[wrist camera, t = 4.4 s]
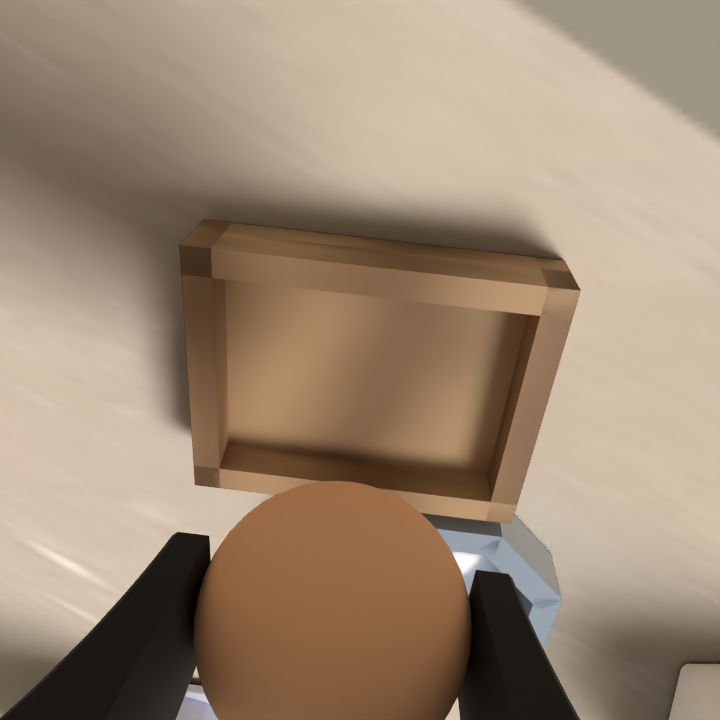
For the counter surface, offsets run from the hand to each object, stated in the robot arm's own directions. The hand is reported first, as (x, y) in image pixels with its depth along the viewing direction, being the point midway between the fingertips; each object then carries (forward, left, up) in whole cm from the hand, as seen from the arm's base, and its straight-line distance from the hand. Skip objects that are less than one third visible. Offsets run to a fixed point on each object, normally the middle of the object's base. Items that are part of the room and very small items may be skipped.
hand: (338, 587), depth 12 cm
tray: (0, 0, -8) cm, 8 cm away
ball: (0, 0, -2) cm, 2 cm away
